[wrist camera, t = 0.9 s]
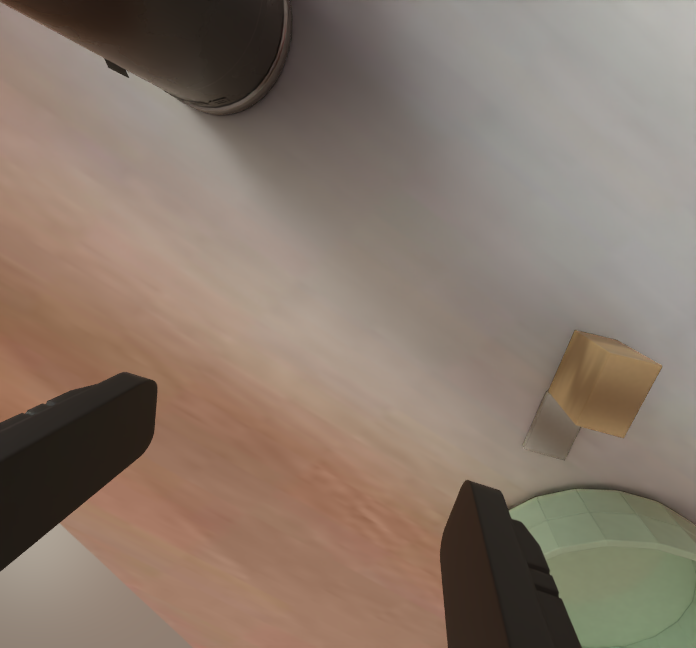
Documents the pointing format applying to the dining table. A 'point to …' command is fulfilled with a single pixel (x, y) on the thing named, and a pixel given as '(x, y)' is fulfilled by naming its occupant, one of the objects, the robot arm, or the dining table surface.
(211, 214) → the dining table surface
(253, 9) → the robot arm
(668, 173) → the dining table surface
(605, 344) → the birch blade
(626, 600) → the bowl
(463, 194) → the dining table surface
